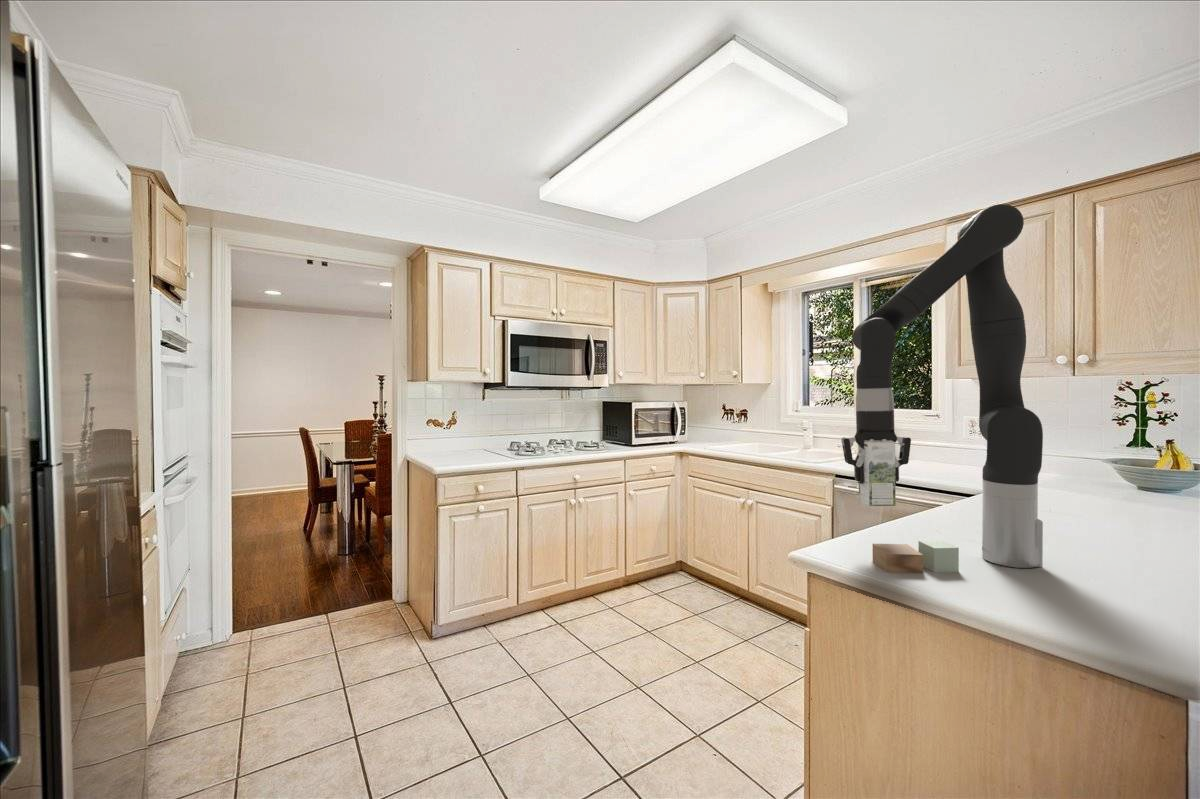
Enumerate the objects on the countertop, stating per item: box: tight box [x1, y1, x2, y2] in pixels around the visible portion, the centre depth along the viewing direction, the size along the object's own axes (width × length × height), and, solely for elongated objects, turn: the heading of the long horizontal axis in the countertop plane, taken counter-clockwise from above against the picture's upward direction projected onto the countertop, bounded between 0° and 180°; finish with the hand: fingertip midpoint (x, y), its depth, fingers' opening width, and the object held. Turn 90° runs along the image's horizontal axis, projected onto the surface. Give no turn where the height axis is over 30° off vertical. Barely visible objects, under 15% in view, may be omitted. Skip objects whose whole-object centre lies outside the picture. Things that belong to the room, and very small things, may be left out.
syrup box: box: [857, 440, 897, 507], centre depth 115 cm, size 6×6×14 cm
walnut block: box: [872, 543, 924, 574], centre depth 107 cm, size 7×7×4 cm
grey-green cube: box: [918, 540, 960, 573], centre depth 106 cm, size 5×5×5 cm
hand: (876, 483), depth 115 cm, fingers closed on syrup box, 6 cm apart
